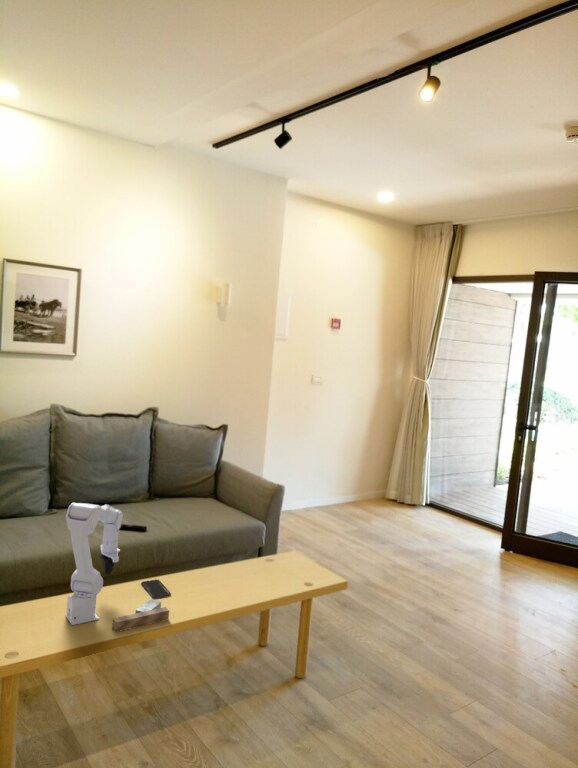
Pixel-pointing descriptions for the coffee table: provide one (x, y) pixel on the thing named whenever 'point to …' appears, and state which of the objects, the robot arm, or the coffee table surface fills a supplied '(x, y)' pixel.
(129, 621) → the walnut bar
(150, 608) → the plate block
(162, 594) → the phone
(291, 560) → the coffee table surface
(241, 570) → the coffee table surface
